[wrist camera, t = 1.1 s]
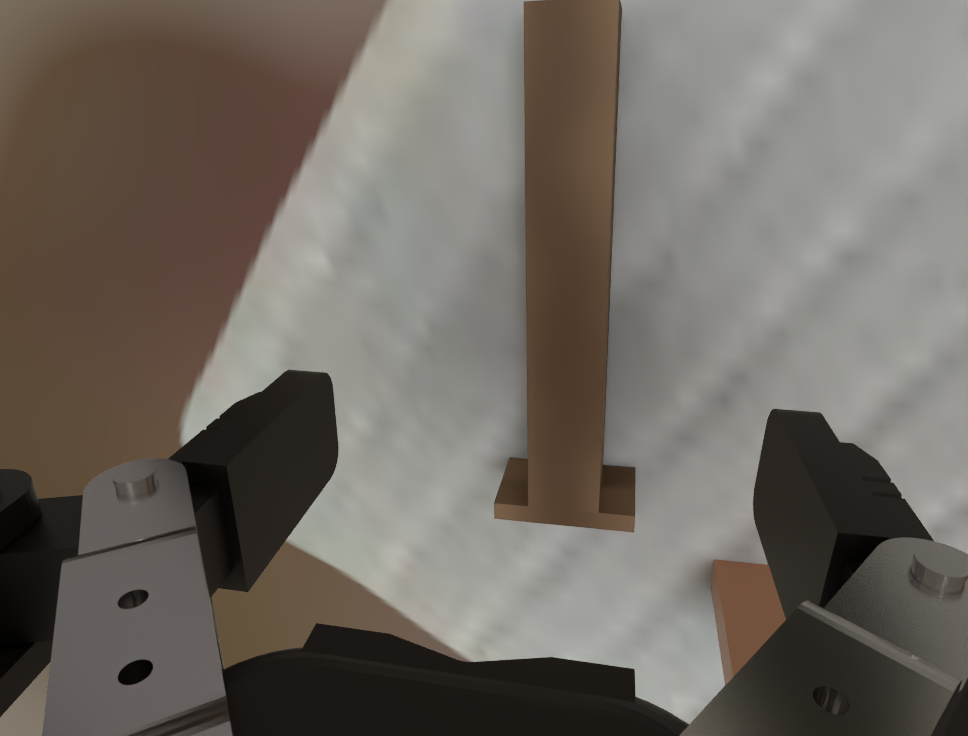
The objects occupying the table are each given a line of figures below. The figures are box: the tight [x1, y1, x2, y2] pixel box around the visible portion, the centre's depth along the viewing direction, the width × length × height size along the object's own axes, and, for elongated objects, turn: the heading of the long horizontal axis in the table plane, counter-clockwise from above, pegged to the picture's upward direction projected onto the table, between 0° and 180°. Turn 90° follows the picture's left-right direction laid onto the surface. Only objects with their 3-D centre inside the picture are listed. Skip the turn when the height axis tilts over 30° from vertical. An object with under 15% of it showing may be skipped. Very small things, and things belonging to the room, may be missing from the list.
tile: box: [711, 560, 786, 685], centre depth 27 cm, size 8×2×10 cm, turn 92°
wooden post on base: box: [494, 0, 635, 532], centre depth 27 cm, size 6×20×4 cm, turn 2°
